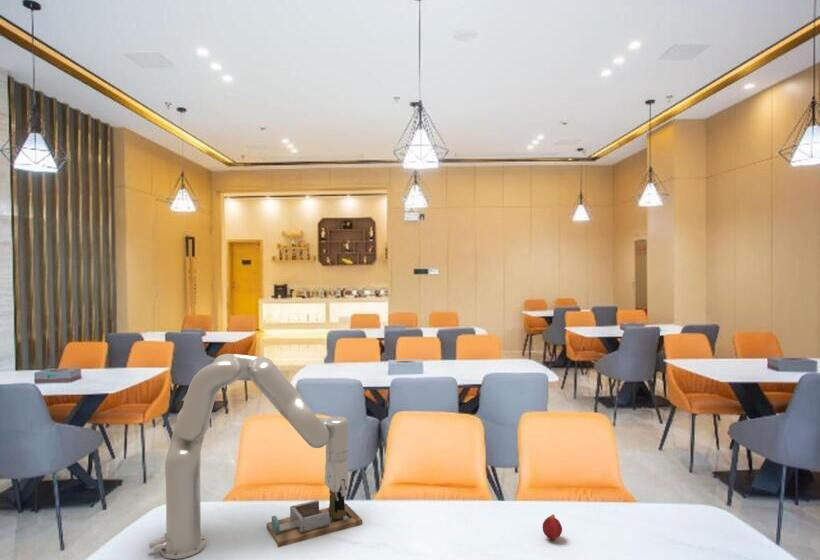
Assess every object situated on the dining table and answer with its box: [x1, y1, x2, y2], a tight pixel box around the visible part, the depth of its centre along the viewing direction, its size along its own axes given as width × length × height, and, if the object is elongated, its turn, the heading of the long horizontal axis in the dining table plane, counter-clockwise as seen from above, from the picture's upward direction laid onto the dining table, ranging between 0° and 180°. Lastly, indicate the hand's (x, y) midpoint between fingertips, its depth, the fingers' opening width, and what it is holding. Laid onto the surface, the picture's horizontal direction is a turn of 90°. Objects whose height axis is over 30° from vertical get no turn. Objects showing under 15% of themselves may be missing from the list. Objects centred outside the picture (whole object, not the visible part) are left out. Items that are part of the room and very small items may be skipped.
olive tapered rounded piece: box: [328, 488, 347, 520], centre depth 171 cm, size 6×6×11 cm
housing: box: [271, 499, 330, 534], centre depth 164 cm, size 17×11×4 cm, turn 120°
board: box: [266, 503, 363, 548], centre depth 167 cm, size 28×14×2 cm, turn 120°
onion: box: [542, 513, 563, 541], centre depth 158 cm, size 6×6×8 cm
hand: (336, 508), depth 171 cm, fingers closed on olive tapered rounded piece, 3 cm apart
